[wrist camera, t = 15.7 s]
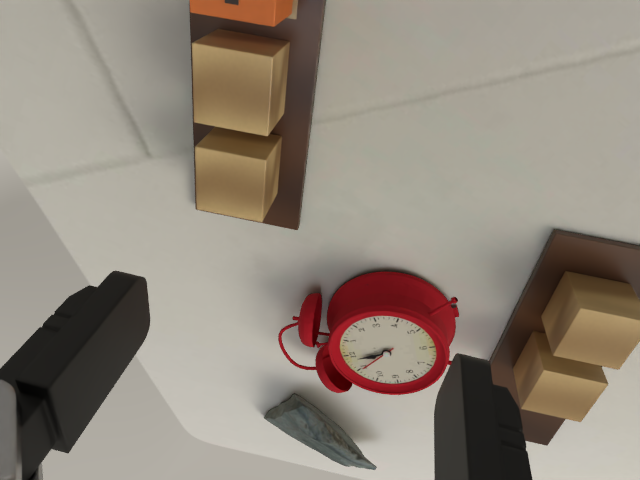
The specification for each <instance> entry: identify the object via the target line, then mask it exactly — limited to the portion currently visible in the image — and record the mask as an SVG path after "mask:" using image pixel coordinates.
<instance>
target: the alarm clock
mask: <svg viewBox="0 0 640 480" xmlns="http://www.w3.org/2000/svg"><path fill="white" fill-rule="evenodd" d="M457 301H458V300H457V298H456V297H453V298H451V301H448V300H447V299H446V297H445V296H444V295H443V294H442V293H441V292H440V291H439V290H438V289H437V288H435V287H434V286H433V285H431V284H430V283H428V282H426V281H424V280H422V279H420V278H417V277H415V276H412V275H408V274H404V273H399V272H373V273H368V274H364V275H361V276H358V277H356V278H354V279H352V280H350V281H348V282H347V283H345V284H344V285H343V286H341V287H340V288H339V289H338V290H337V292H336V293H335V294H334V296H333V297H332V299H331V301H330V304H329V307H328V312H327V325H328V328H329V331H330V333H324V332H319V328H320V321H321V310H322V298H321V294H320V293H314V294H310V295H308V296H307V297H306V298H305V300H304V302H303V304H302V307H301V310H300V315H299V317H295V316H293V320H298V322H297V323H293V324H290V325H288V326H286V327H284V328H283V329H282V330H281V331H280V333H279V344H280V347H281V349H282V351H283V353H284V355H285V356H286V358H287V359H288V360H289V361H290V362H291V363H292V364H293V365H295V366H297V367H299V368H302V369H306V370H317V373H318V376H319V378H320V380H321V381H322V383H323V384H324V385H325V386H326V387H327V388H328V389H329V390H331V391H333V392H336V393H342V392H346V391H348V390H349V389H350V388H351V386H352V383H353V384H355V385H357V386H359V387H361V388H363V389H366V390H369V391H372V392H376V393H381V394H390V395H401V394H409V393H414V392H417V391H420V390H423V389H425V388H427V387H429V386H431V385H432V384H434V383H435V382H436V381H437V380H438V379H439V378H440V377H441V376H442V374H443V373H444V371H445V369H446V366H447V364H448V365H451V363H452V361H449V353H450V351H449V346H450V344H451V342H452V341H453V338H454V335H455V328H456V325H455V317H459V312H458V309H457V305H456V308H452V307H451V305H450V304H452V303H457ZM297 325H298V330H299V337H300V339H301V342H302V343H303V344H304V345H306V346H309V347H314V346H315V344H316V345H317V348H319V347H320V346H321V345H324V346H322V347H321V348H320V350H319V351H318V353H317V356H316V367H306V366H302V365H299V364H297V363H296V362H294V361H293V360H292V359H291V358H290V356H289V355H288V354H287V352H286V351H285V348H284V346H283V344H282V338H281V336H282V333H283V332H284V331H285V330H286V329H289V328H291V327H294V326H297ZM318 334H319V335H326V336H329V338H328V342H326V343H319V342H318V341H317V337H318ZM316 341H317V342H316Z"/></svg>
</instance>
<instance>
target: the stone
mask: <svg viewBox="0 0 640 480" xmlns="http://www.w3.org/2000/svg"><path fill="white" fill-rule="evenodd" d="M264 418H265V419H266V420H267V421H269V422H270V423H272V424H273V425H275V426H276V427H278V428H279V429H281V430H282V431H284V432H285V433H286V434H288V435H290V436H291V437H293V438H295V439H297V440H298V441H300V442H302V443H303V444H305V445H307V446H309V447H310V448H312V449H314V450H316V451H318V452H320V453H321V454H323V455H325V456H326V457H328V458H330V459H331V460H333V461H335V462H337V463H339V464H341V465H344V466H348V467H350V466H355V467H358V468H366V469H372V470H375V469H376V468H377V467H376V466H375V465H373V464H372V463H371V462H370V461H369V460H367V459H366V458H365V457H364V455H363V454H362V452H361V450H360V449H359V448H358V446H357V445H356V444H355V443H354V442H353V440H352V439H351V438H350V437H349V436H348V435H346V434H345V432H344V431H343V430H342V429H341V428H340V427H339V426H338V425H337V424H336V423H335V422H333V421H332V420H330V419H329V418H327V417H326V416H325V415H324V414H323V413H322V412H321V411H319V410H318V409H317V408H315V407H314V406H312V405H311V404H310V403H308V402H307V401H306V400H304V399H303V398H301V397H300V396H298V395H296V394H293V395H292V397H291V399H289V400H288V401H286V402H283V403H281V404H280V405H279V406H278V407H275V408H273V409H271V410H270V411H269V412H268V413H267V415H266V416H265V417H264Z"/></svg>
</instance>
